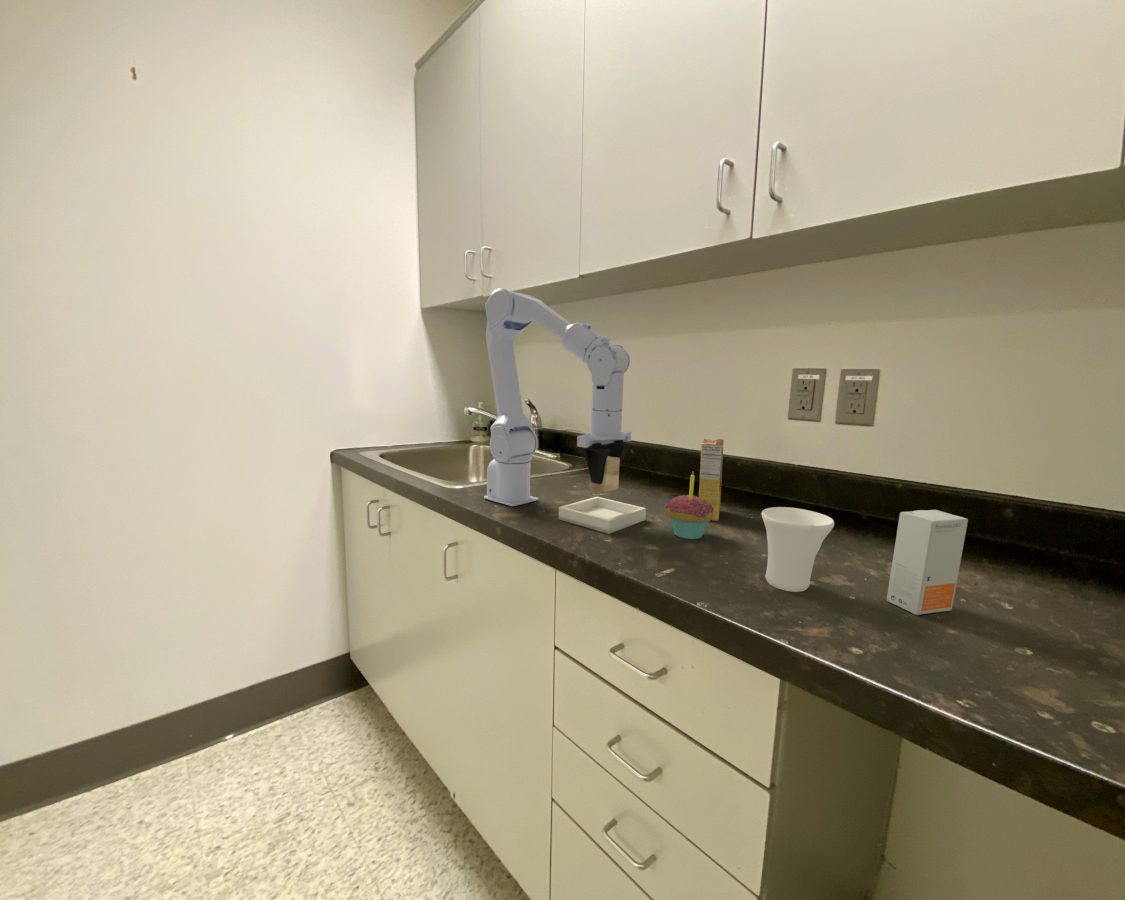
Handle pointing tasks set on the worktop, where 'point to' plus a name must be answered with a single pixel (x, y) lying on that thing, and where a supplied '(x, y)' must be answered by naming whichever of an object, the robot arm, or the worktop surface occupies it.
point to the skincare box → (926, 561)
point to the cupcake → (689, 514)
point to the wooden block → (608, 476)
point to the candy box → (711, 473)
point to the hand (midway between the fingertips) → (603, 481)
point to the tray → (602, 514)
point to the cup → (793, 545)
